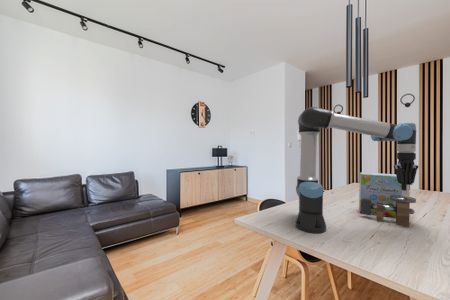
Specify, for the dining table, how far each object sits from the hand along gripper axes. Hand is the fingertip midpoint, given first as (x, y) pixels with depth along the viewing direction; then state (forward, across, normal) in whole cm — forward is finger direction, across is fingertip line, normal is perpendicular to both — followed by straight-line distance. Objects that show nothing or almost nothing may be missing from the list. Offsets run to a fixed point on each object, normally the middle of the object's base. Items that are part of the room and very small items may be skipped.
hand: (405, 196), depth 109 cm
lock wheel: (+3, +4, +5) cm, 7 cm away
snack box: (+16, +5, +20) cm, 27 cm away
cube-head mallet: (+14, -1, +10) cm, 17 cm away
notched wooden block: (+16, +1, +8) cm, 18 cm away
